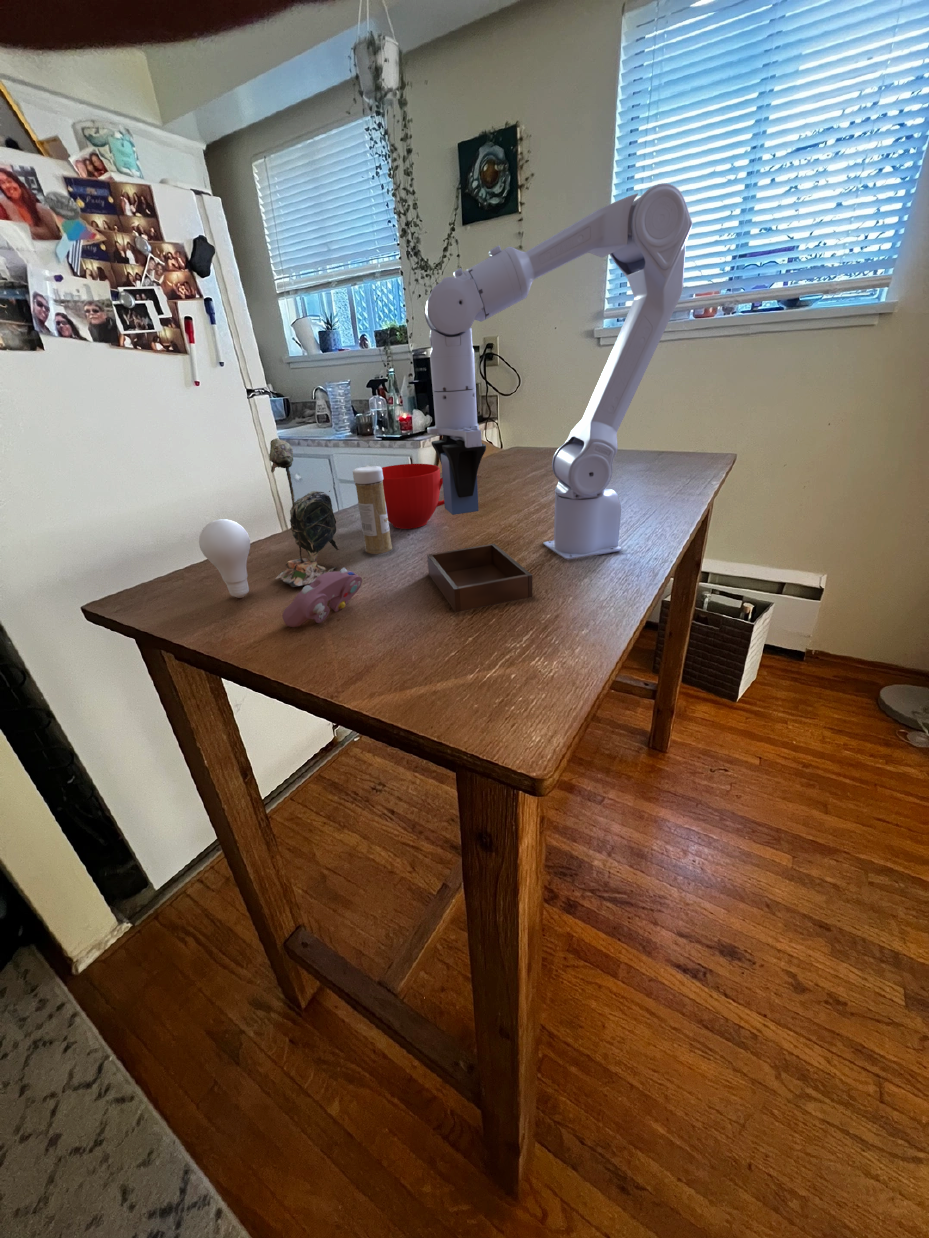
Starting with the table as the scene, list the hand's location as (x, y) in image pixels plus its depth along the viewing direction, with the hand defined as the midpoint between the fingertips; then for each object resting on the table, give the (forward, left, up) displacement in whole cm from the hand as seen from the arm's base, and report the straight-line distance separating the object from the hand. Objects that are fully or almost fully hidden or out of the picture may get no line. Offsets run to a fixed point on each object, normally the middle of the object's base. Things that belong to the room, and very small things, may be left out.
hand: (460, 492), depth 73 cm
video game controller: (+22, +11, -11) cm, 26 cm away
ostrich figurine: (+23, -4, -11) cm, 25 cm away
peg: (0, 0, -2) cm, 2 cm away
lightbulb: (+33, 0, -11) cm, 34 cm away
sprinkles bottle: (+12, -10, -11) cm, 19 cm away
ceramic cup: (+2, -22, -10) cm, 25 cm away
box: (+2, +11, -10) cm, 15 cm away
